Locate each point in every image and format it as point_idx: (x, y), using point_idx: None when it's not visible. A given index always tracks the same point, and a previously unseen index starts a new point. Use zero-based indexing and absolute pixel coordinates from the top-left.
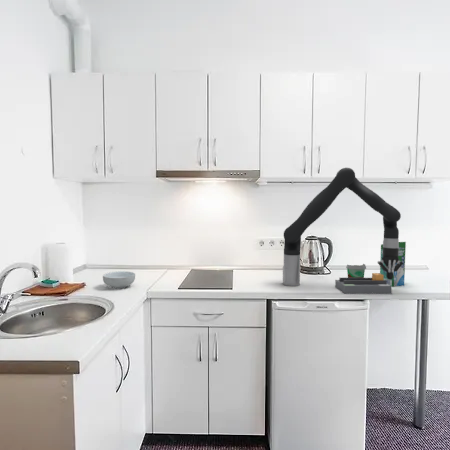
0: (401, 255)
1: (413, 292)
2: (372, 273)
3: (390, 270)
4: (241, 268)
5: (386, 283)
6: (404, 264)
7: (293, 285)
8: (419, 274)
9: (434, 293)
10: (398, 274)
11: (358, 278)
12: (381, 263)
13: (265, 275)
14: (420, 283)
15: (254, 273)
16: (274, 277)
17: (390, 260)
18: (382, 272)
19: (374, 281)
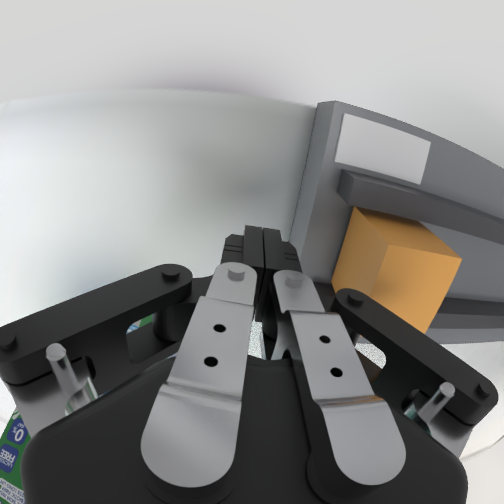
0: (10, 483)
1: (103, 128)
2: (425, 330)
3: (276, 288)
4: (471, 457)
5: (346, 171)
6: (16, 411)
7: None
8: (6, 398)
9: (9, 111)
10: None
11: (474, 313)
12: (473, 386)
13: (496, 422)
14: (6, 317)
15: (494, 431)
16: (501, 410)
17: (350, 466)
18: None
19: (457, 206)
